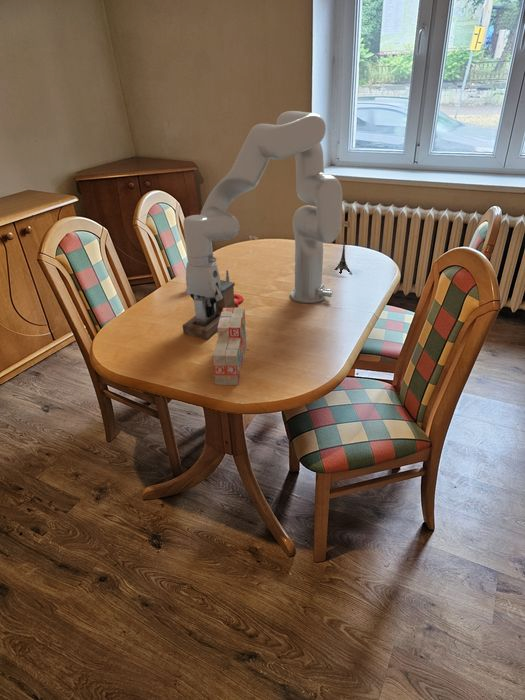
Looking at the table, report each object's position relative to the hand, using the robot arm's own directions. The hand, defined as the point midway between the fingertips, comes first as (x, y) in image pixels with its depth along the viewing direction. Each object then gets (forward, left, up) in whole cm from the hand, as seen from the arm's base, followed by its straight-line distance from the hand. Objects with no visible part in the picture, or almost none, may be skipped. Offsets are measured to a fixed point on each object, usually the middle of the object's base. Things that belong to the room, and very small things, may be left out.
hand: (206, 314), depth 144 cm
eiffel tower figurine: (-23, -62, -5) cm, 66 cm away
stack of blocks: (-18, +14, -5) cm, 23 cm away
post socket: (0, -3, -5) cm, 6 cm away
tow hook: (+3, -20, -5) cm, 21 cm away
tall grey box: (0, 0, -3) cm, 3 cm away
